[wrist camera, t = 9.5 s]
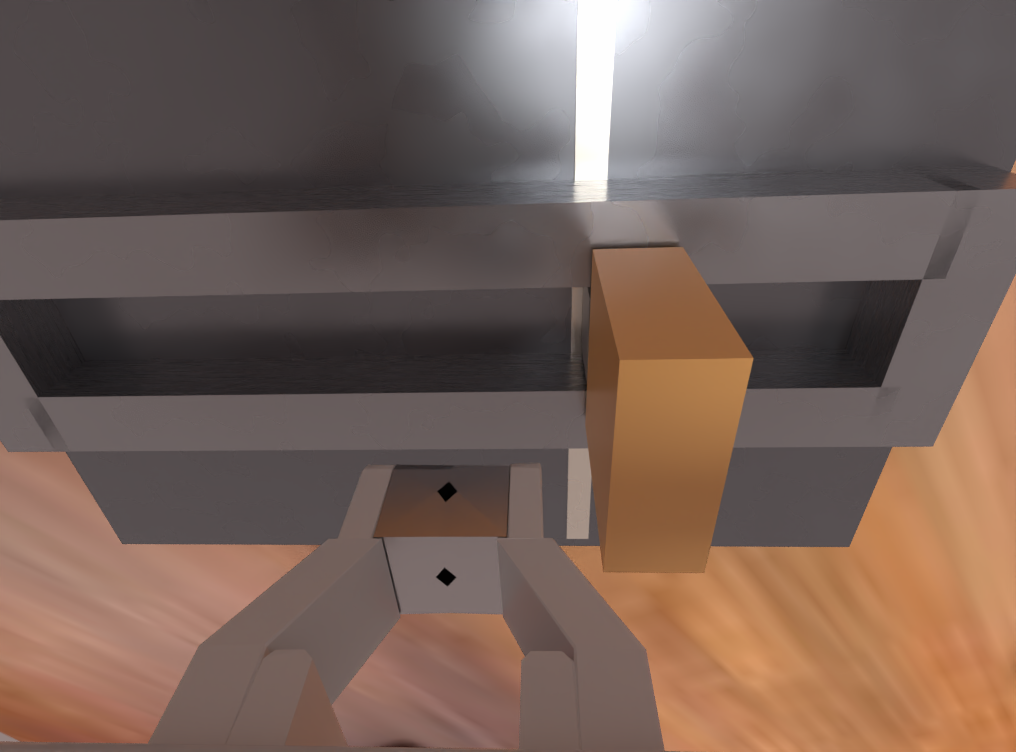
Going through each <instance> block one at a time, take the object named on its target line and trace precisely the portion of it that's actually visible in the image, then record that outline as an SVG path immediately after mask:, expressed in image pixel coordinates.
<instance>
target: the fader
mask: <svg viewBox="0 0 1016 752" xmlns="http://www.w3.org/2000/svg"><path fill="white" fill-rule="evenodd" d="M582 354H583V361H584V368H585V376H586V382H587V396H586V420H585V427H586V435H587V443H588V452H589V460H590V468H591V476H592V484H593V492H594V501H595V509H596V517H597V525H598V533H599V542H600V550H601V558H602V566H603V572H642V573H704V572H705V568H706V563H707V559H708V555H709V550H710V546H711V542H712V537H713V533H714V529H715V524H716V520H717V516H718V511H719V507H720V502H721V498H722V494H723V489H724V485H725V481H726V476H727V472H728V468H729V463H730V459H731V455H732V450H733V446H734V441H735V437H736V433H737V428H738V424H739V420H740V415H741V411H742V407H743V402H744V398H745V394H746V389H747V385H748V380H749V376H750V372H751V367H752V363H753V359H754V358H753V356H752V355H751V353H750V352H749V350H748V349H747V347H746V345H745V344H744V342H743V341H742V339H741V338H740V336H739V334H738V333H737V331H736V330H735V328H734V327H733V325H732V323H731V322H730V320H729V319H728V317H727V316H726V314H725V312H724V311H723V309H722V308H721V306H720V305H719V303H718V301H717V300H716V298H715V297H714V295H713V294H712V292H711V290H710V289H709V287H708V286H707V284H706V283H705V281H704V279H703V278H702V276H701V275H700V273H699V272H698V270H697V268H696V267H695V265H694V264H693V262H692V261H691V259H690V257H689V256H688V254H687V253H686V251H685V250H684V248H683V247H662V248H624V249H593V251H592V275H591V287H584V290H583V320H582Z"/></svg>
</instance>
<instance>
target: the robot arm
mask: <svg viewBox="0 0 1016 752" xmlns="http://www.w3.org/2000/svg"><path fill="white" fill-rule="evenodd" d="M424 613H473V614H503V618H504V620H505V621H506V623H507V625H508V627H509V628H510V630H511V632H512V634H513V636H514V637H515V639H516V641H517V643H518V645H519V646H520V648H521V650H522V652H523V654H524V655H525V657H524V658H523V659H522V660H521V695H520V732H519V749H484V748H419V747H348V745H347V742H346V740H345V737H344V735H343V732H342V730H341V727H340V725H339V723H338V720H337V718H336V715H335V713H334V710H333V708H332V704H333V703H334V701H335V700H336V699H337V697H338V696H339V695H340V694H341V692H342V691H343V690H344V689H345V687H346V686H347V685H348V683H349V682H350V681H351V680H352V678H353V677H354V676H355V675H356V673H357V672H358V671H359V669H360V668H361V667H362V666H363V664H364V663H365V662H366V661H367V659H368V658H369V657H370V655H371V654H372V653H373V652H374V650H375V649H376V648H377V647H378V645H379V644H380V643H381V641H382V640H383V639H384V638H385V636H386V635H387V634H388V633H389V631H390V630H391V629H392V627H393V626H394V625H395V624H396V622H397V621H398V620H399V619H400V614H424ZM0 752H678V751H665V750H664V745H663V739H662V734H661V729H660V723H659V718H658V712H657V707H656V701H655V696H654V691H653V685H652V680H651V674H650V669H649V664H648V658H647V653H646V649H645V648H644V647H643V646H642V644H641V643H640V642H639V641H638V640H637V638H636V637H635V636H634V635H633V634H632V632H631V631H630V630H629V629H628V628H627V626H626V625H625V624H624V623H623V622H622V620H621V619H620V618H619V617H618V616H617V614H616V613H615V612H614V611H613V610H612V609H611V607H610V606H609V605H608V604H607V603H606V601H605V600H604V599H603V598H602V597H601V595H600V594H599V593H598V592H597V591H596V589H595V588H594V587H593V586H592V585H591V583H590V582H589V581H588V580H587V579H586V577H585V576H584V575H583V574H582V573H581V571H580V570H579V569H578V568H577V567H576V565H575V564H574V563H573V562H572V561H571V560H570V558H569V557H568V556H567V555H566V554H565V552H564V551H563V550H562V549H561V548H560V546H559V545H558V544H557V543H556V542H555V540H554V539H553V538H543V504H542V469H541V465H540V463H517V464H488V465H400V464H397V465H367V466H366V467H365V468H364V469H363V471H362V473H361V475H360V478H359V481H358V484H357V486H356V489H355V492H354V495H353V497H352V500H351V503H350V506H349V508H348V511H347V514H346V516H345V519H344V522H343V525H342V527H341V530H340V533H339V536H338V538H337V539H328V540H326V541H325V542H324V543H323V544H322V545H320V546H319V547H318V548H317V549H316V550H314V551H313V552H312V553H311V554H310V555H308V556H307V557H306V558H305V559H303V560H302V561H301V562H300V563H299V564H297V565H296V566H295V567H294V568H293V569H291V570H290V571H289V572H288V573H287V574H285V575H284V576H283V577H282V578H280V579H279V580H278V581H277V582H276V583H274V584H273V585H272V586H271V587H270V588H268V589H267V590H266V591H265V592H264V593H262V594H261V595H260V596H259V597H257V598H256V599H255V600H254V601H253V602H251V603H250V604H249V605H248V606H247V607H245V608H244V609H243V610H242V611H241V612H239V613H238V614H237V615H236V616H235V617H233V618H232V619H231V620H230V621H228V622H227V623H226V624H225V625H224V626H222V627H221V628H220V629H219V630H218V631H216V632H215V633H214V634H213V635H212V636H210V637H209V638H208V639H207V640H205V641H204V642H203V643H202V644H201V645H199V647H198V649H197V651H196V653H195V655H194V656H193V658H192V660H191V662H190V664H189V666H188V668H187V670H186V672H185V674H184V676H183V677H182V679H181V681H180V683H179V685H178V687H177V689H176V691H175V693H174V695H173V697H172V698H171V700H170V702H169V704H168V706H167V708H166V710H165V712H164V714H163V716H162V717H161V719H160V721H159V723H158V725H157V727H156V729H155V731H154V733H153V735H152V737H151V738H150V740H149V742H148V744H138V743H69V742H0Z"/></svg>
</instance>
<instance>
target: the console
mask: <svg viewBox="0 0 1016 752" xmlns="http://www.w3.org/2000/svg"><path fill="white" fill-rule="evenodd" d="M1015 160H1016V0H0V441H1V442H2V444H3V445H4V446H5V448H6V449H7V451H8V452H66V453H67V455H68V457H69V458H70V460H71V461H72V463H73V465H74V466H75V468H76V470H77V471H78V473H79V474H80V476H81V478H82V479H83V481H84V482H85V484H86V486H87V487H88V489H89V491H90V492H91V494H92V495H93V497H94V499H95V500H96V502H97V504H98V505H99V507H100V508H101V510H102V512H103V513H104V515H105V517H106V518H107V520H108V521H109V523H110V525H111V526H112V528H113V529H114V531H115V533H116V534H117V536H118V538H119V539H120V541H121V542H122V544H272V545H322V544H323V543H324V542H325V541H326V540H328V539H337V538H338V536H339V533H340V530H341V527H342V525H343V522H344V519H345V516H346V514H347V511H348V508H349V506H350V503H351V500H352V497H353V495H354V492H355V489H356V486H357V484H358V481H359V478H360V475H361V473H362V471H363V469H364V468H365V467H366V466H367V465H397V464H400V465H488V464H517V463H540V465H541V469H542V504H543V538H553V539H554V540H555V542H556V543H557V544H558V545H559V546H600V542H599V533H598V525H597V517H596V509H595V501H594V492H593V484H592V476H591V468H590V460H589V452H588V443H587V435H586V427H585V420H586V396H587V382H586V376H585V368H584V361H583V354H582V320H583V290H584V287H591V275H592V251H593V249H624V248H662V247H683V248H684V250H685V251H686V253H687V254H688V256H689V257H690V259H691V261H692V262H693V264H694V265H695V267H696V268H697V270H698V272H699V273H700V275H701V276H702V278H703V279H704V281H705V283H706V284H707V286H708V287H709V289H710V290H711V292H712V294H713V295H714V297H715V298H716V300H717V301H718V303H719V305H720V306H721V308H722V309H723V311H724V312H725V314H726V316H727V317H728V319H729V320H730V322H731V323H732V325H733V327H734V328H735V330H736V331H737V333H738V334H739V336H740V338H741V339H742V341H743V342H744V344H745V345H746V347H747V349H748V350H749V352H750V353H751V355H752V356H753V358H754V359H753V363H752V367H751V372H750V376H749V380H748V385H747V389H746V394H745V398H744V402H743V407H742V411H741V415H740V420H739V424H738V428H737V433H736V437H735V441H734V446H733V450H732V455H731V459H730V463H729V468H728V472H727V476H726V481H725V485H724V489H723V494H722V498H721V502H720V507H719V511H718V516H717V520H716V524H715V529H714V533H713V537H712V542H711V546H762V547H849V546H850V544H851V541H852V539H853V537H854V534H855V532H856V530H857V527H858V525H859V523H860V521H861V518H862V516H863V514H864V511H865V509H866V507H867V504H868V502H869V500H870V497H871V495H872V493H873V490H874V488H875V486H876V483H877V481H878V479H879V476H880V474H881V472H882V469H883V467H884V465H885V462H886V460H887V458H888V455H889V453H890V451H891V448H892V447H924V446H933V445H934V443H935V441H936V439H937V436H938V434H939V432H940V430H941V428H942V426H943V424H944V422H945V420H946V418H947V416H948V414H949V411H950V409H951V407H952V405H953V403H954V401H955V399H956V397H957V395H958V393H959V391H960V389H961V387H962V384H963V382H964V380H965V378H966V376H967V374H968V372H969V370H970V368H971V366H972V364H973V362H974V360H975V357H976V355H977V353H978V351H979V349H980V347H981V345H982V343H983V341H984V339H985V337H986V335H987V332H988V330H989V328H990V326H991V324H992V322H993V320H994V318H995V316H996V314H997V312H998V310H999V308H1000V305H1001V303H1002V301H1003V299H1004V297H1005V295H1006V293H1007V291H1008V289H1009V287H1010V285H1011V283H1012V280H1013V278H1014V276H1015V274H1016V174H1014V173H1011V169H1012V167H1013V165H1014V162H1015Z"/></svg>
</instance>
